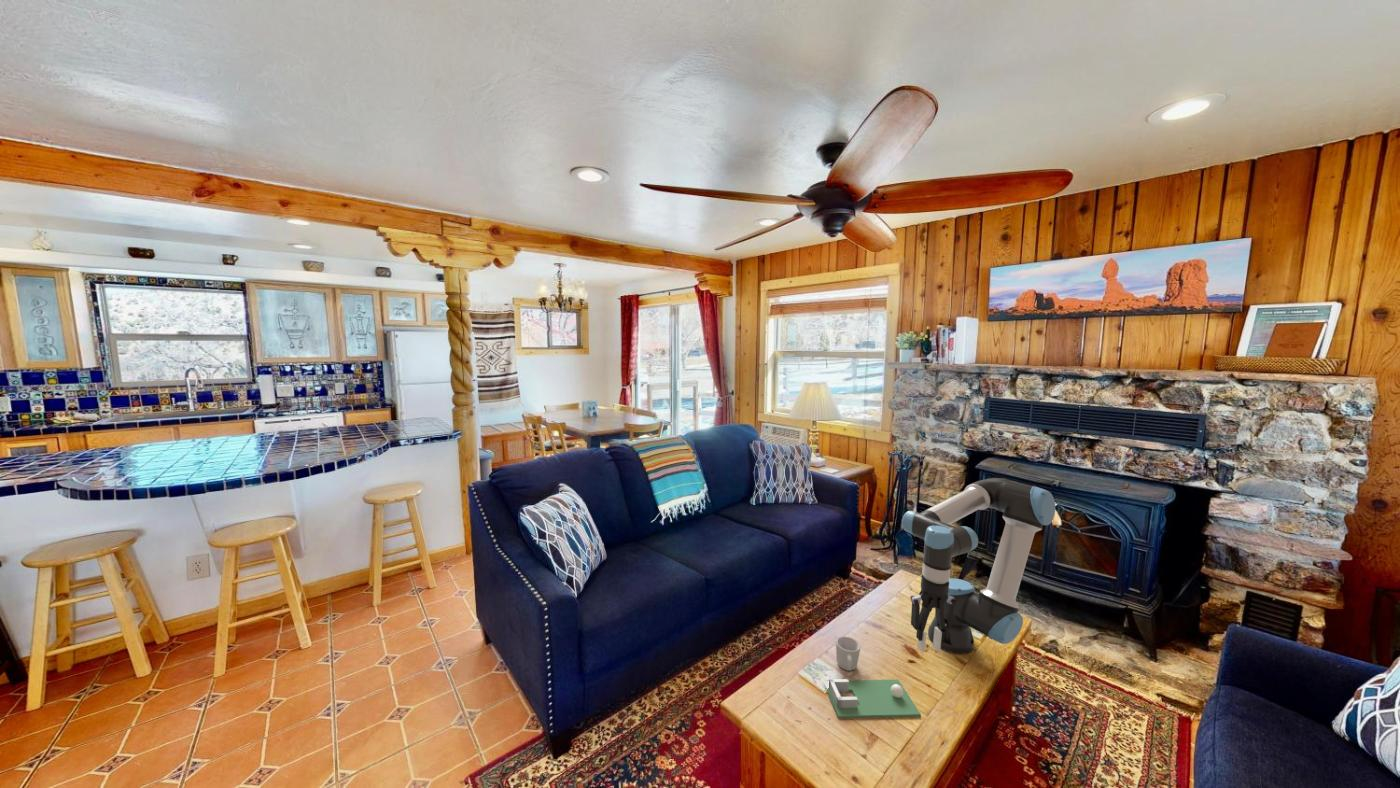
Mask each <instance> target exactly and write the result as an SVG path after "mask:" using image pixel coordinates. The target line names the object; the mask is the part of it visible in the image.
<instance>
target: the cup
mask: <svg viewBox="0 0 1400 788" xmlns="http://www.w3.org/2000/svg"><path fill="white" fill-rule="evenodd" d="M835 651H836V663H837V664H838V666H839V667H840V668H842V669H843V670H845V671H854V670H855V669H857V666H858V663H859V656H860V652H861V644H860V642H858V641H857V640H856V639H855V638H853V637H850V636H846V635H845V636H839V637H838V638H837V639H836V640H835Z"/></svg>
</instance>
